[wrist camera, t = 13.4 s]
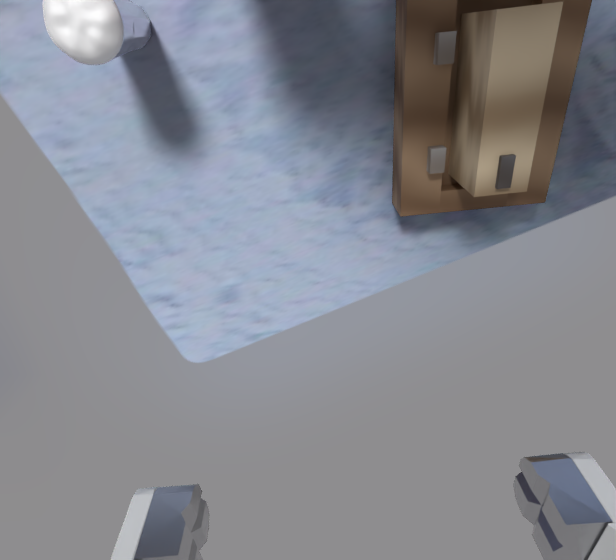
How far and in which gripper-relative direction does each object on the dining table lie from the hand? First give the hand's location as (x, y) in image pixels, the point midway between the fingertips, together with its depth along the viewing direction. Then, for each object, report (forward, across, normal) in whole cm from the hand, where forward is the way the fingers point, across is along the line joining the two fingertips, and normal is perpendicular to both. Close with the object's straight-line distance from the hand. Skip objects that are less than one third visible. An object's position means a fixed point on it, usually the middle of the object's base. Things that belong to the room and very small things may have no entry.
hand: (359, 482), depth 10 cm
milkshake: (+31, +13, -12) cm, 36 cm away
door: (+29, -14, -4) cm, 33 cm away
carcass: (+31, -14, -4) cm, 34 cm away
